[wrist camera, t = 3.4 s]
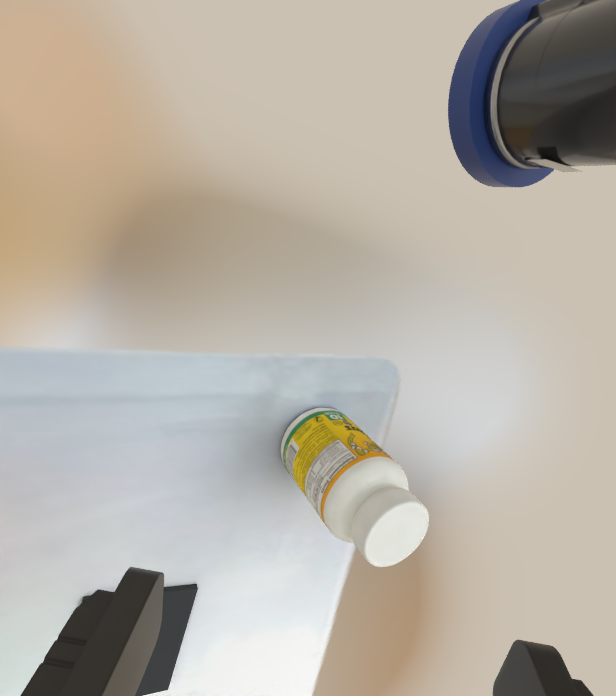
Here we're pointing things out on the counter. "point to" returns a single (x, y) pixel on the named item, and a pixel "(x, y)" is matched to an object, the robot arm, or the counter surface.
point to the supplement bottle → (354, 486)
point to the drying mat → (167, 638)
